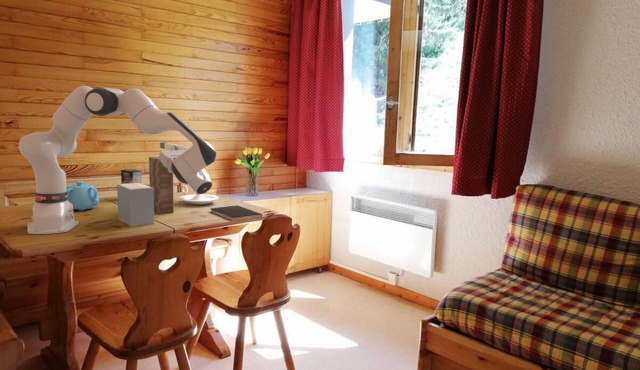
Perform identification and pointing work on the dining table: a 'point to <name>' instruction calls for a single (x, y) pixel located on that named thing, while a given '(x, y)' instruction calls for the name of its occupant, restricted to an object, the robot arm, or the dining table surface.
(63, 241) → the dining table surface
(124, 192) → the paper box
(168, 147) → the marker
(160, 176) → the walnut stand
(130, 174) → the coffee box
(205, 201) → the candlestick
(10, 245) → the dining table surface
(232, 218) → the hardcover book
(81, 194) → the decorative pot
